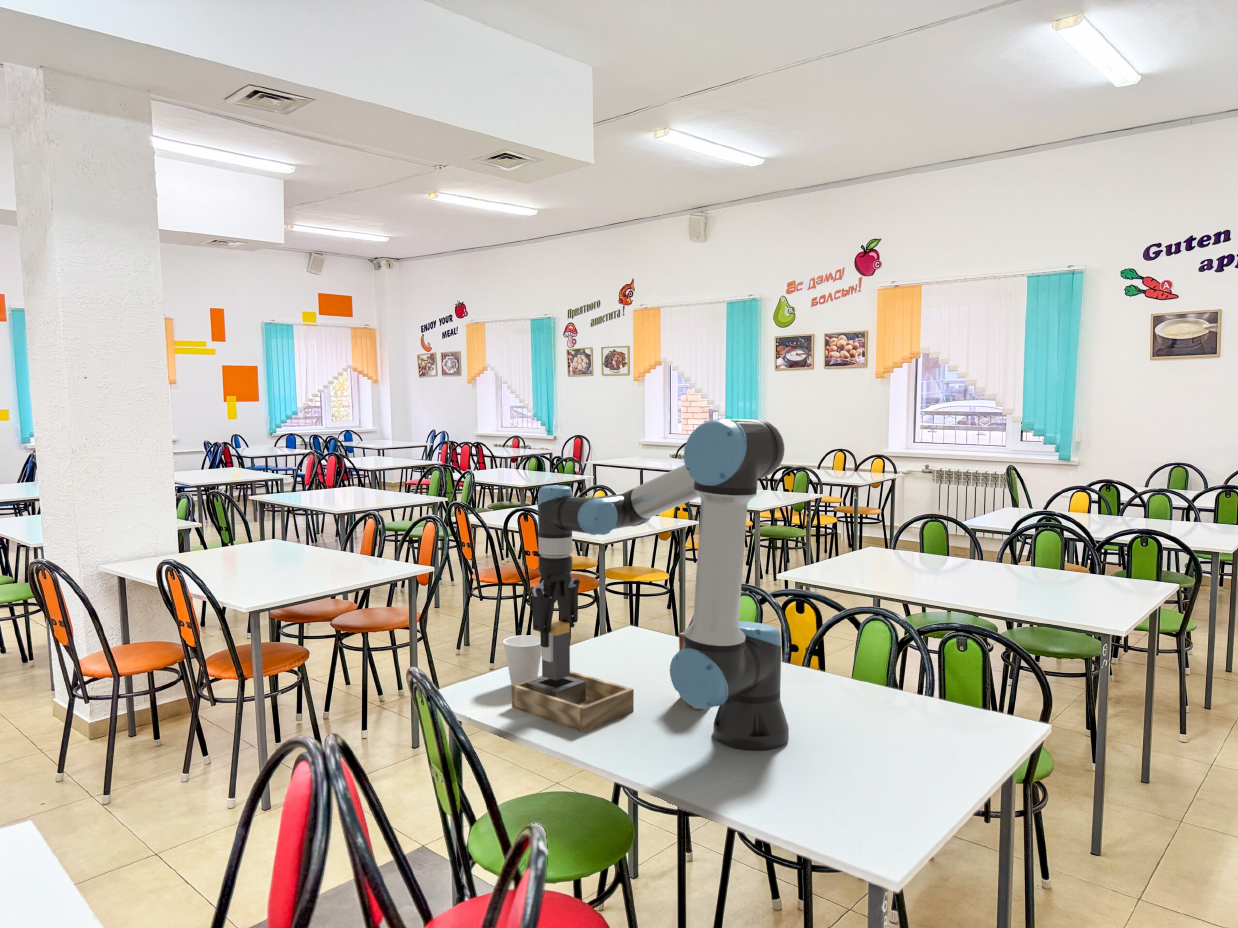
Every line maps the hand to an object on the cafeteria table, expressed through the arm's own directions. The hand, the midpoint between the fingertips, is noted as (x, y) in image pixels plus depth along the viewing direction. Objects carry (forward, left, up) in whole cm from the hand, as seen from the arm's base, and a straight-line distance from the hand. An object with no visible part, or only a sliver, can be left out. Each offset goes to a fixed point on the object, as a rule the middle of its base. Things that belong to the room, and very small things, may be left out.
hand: (556, 657), depth 190 cm
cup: (+15, -4, -11) cm, 19 cm away
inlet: (0, 0, -11) cm, 11 cm away
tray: (-5, 0, -11) cm, 12 cm away
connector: (0, 0, -4) cm, 4 cm away
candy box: (-23, -21, -11) cm, 33 cm away
